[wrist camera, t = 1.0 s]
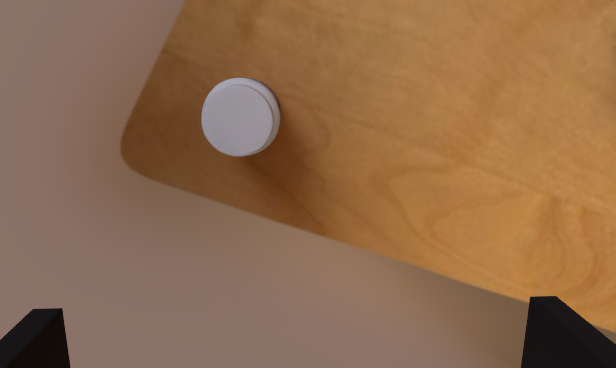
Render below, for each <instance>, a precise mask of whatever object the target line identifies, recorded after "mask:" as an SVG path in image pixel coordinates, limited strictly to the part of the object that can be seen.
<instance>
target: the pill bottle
mask: <svg viewBox="0 0 616 368" xmlns="http://www.w3.org/2000/svg"><path fill="white" fill-rule="evenodd" d="M201 123H202V129H203V132H204V134H205V136H206V138H207V140H208V141H209V143H210V144H211V145H212V146H213V147H214V148H215V149H217V150H218V151H220V152H221V153H224V154H226V155H230V156H236V157H241V156H249V155H253V154H256V153H259V152H260V151H262V150H264V149H265V148H267V147H268V146H269V145H270V144H271V142H272V141H274V139H275V137H276V135H277V133H278V130H279V127H280V104H279V101H278V98H277V96H276V94H275V93H274V92H273V90H272V89H271V88H270V87H269V86H268V85H266V84H265V83H263V82H261V81H259V80H256V79H251V78H231V79H227V80H224V81H222V82H221V83H219V84H218V85H216V86H215V87H214V88H213V89H212V90H211V92H210V93H209V94H208V96H207V98H206V100H205V102H204V105H203V109H202V117H201Z"/></svg>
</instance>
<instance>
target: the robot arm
mask: <svg viewBox="0 0 616 368" xmlns="http://www.w3.org/2000/svg"><path fill="white" fill-rule="evenodd" d="M0 368H70V361H69V354H68V348H67V340H66V333H65V325H64V319H63V311H62V308H59V309H58V308H57V309H33V310H32V311H31V312H30V313H29V314H27V315H26V316H25V317H24V318H23V319H22V320H21V321H20V322H19V323H18V324H17V325H16V326H15V327H14V328H13V329H11V330H10V331H9V332H8V333H7V334H6V335H5V336H4V337H3V338H2V339H1V340H0ZM521 368H616V344H614V343H613V342H612V341H611V340H609V339H608V338H607V337H605V336H604V335H603V334H602V333H601V332H600V331H598V330H597V329H596V328H595V327H593V326H592V325H591V324H590V323H588V322H587V321H586V320H585V319H584V318H582V317H581V316H580V315H579V314H577V313H576V312H575V311H574V310H572V309H571V308H570V307H569V306H567V305H566V304H565V303H564V302H563V301H561V300H560V299H559V298H558V297H556V296H542V297H530V302H529V310H528V319H527V326H526V333H525V341H524V348H523V356H522V364H521Z"/></svg>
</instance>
